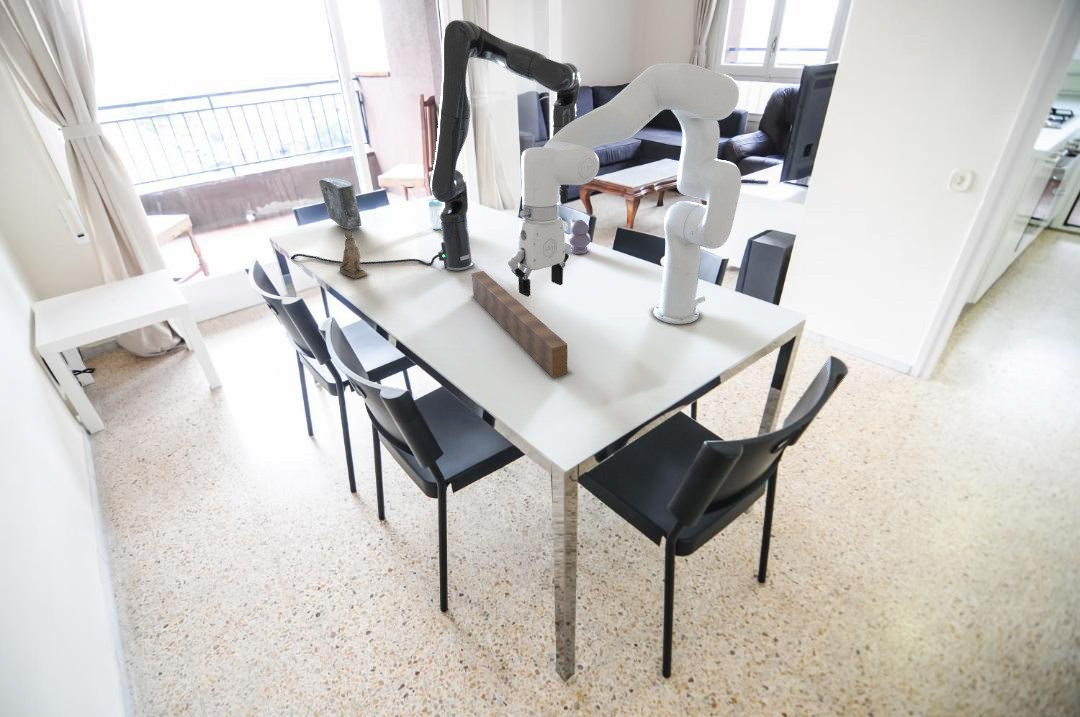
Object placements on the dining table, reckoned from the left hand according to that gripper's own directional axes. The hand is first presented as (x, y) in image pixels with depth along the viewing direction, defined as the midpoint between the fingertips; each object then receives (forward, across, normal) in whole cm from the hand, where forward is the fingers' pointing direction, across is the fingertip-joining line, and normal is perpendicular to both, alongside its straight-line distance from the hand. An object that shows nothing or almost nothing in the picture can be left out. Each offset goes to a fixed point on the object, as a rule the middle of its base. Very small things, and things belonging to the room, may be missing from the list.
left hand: (563, 198), depth 154 cm
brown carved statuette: (+28, -10, -75) cm, 81 cm away
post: (+27, +36, -15) cm, 47 cm away
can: (+28, -64, -54) cm, 88 cm away
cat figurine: (+27, -27, +7) cm, 38 cm away
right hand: (+6, +54, -7) cm, 55 cm away
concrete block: (+28, -69, -97) cm, 123 cm away
